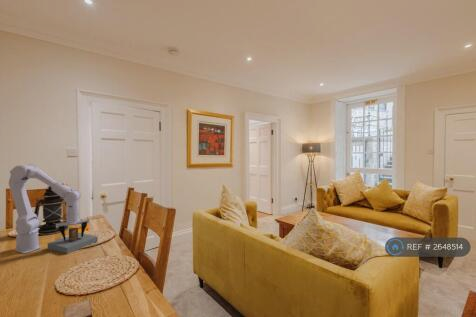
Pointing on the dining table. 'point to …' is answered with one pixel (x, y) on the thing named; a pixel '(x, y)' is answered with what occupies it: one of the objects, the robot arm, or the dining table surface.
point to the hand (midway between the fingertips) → (73, 238)
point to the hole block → (72, 243)
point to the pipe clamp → (80, 228)
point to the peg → (73, 234)
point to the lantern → (50, 212)
